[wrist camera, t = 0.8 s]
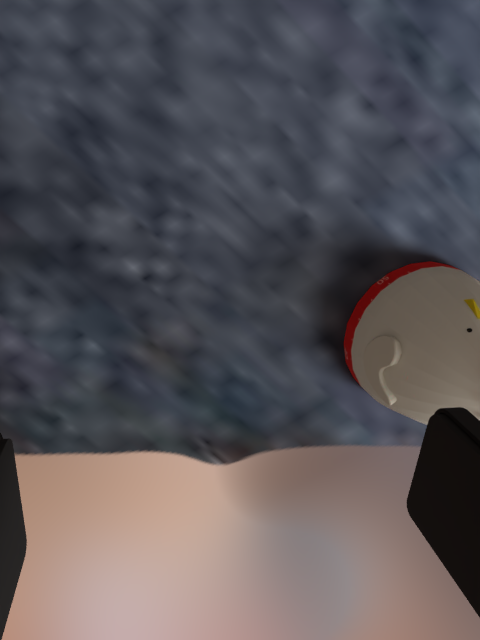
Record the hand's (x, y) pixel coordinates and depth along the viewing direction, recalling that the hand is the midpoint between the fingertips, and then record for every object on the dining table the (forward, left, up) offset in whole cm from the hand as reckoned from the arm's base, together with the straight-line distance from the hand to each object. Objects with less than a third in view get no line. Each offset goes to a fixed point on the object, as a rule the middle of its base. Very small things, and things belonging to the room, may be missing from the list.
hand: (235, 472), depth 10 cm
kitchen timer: (-3, +24, -27) cm, 36 cm away
